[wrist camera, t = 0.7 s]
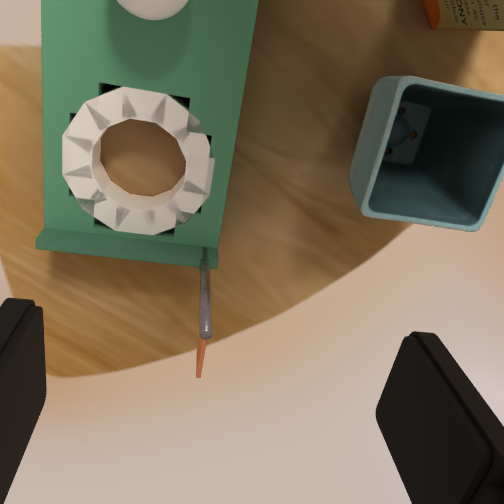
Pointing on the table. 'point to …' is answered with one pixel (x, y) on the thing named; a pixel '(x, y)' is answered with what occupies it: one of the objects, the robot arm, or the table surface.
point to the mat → (146, 109)
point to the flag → (204, 310)
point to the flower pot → (429, 153)
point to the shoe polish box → (465, 14)
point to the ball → (153, 8)
